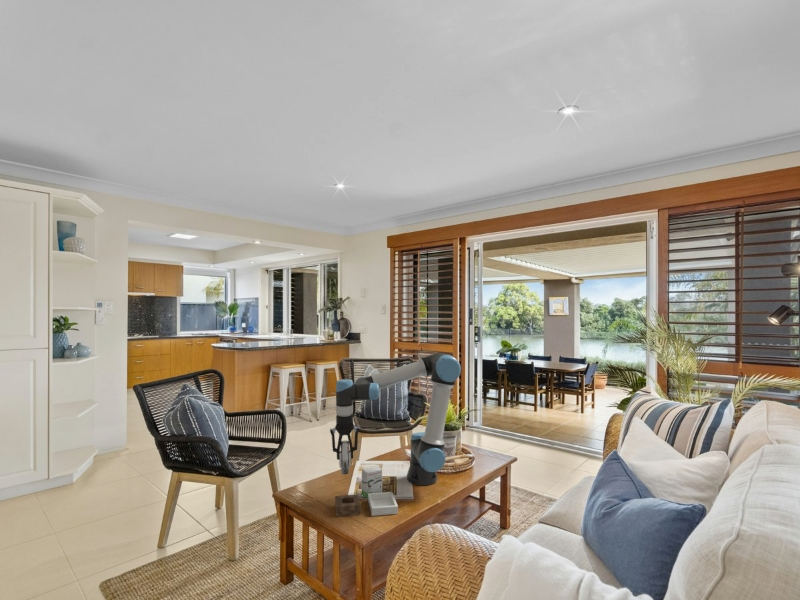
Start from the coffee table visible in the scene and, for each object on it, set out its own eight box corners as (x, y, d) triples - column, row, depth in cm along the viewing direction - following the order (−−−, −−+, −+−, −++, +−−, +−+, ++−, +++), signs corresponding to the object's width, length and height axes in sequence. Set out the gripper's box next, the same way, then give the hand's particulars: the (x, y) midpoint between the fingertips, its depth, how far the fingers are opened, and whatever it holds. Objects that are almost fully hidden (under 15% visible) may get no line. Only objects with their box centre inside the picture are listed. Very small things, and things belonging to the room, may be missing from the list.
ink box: (366, 499, 190) (366, 472, 191) (361, 494, 195) (361, 469, 195) (382, 494, 195) (382, 468, 195) (377, 490, 199) (377, 465, 199)
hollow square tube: (358, 503, 186) (358, 494, 186) (360, 514, 176) (360, 504, 176) (335, 505, 184) (335, 496, 184) (336, 516, 174) (336, 506, 174)
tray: (392, 498, 191) (392, 491, 191) (397, 513, 177) (398, 506, 177) (367, 500, 189) (367, 493, 189) (371, 515, 175) (371, 508, 175)
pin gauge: (348, 470, 193) (348, 440, 193) (349, 474, 190) (349, 442, 190) (340, 471, 193) (340, 440, 193) (341, 474, 189) (341, 443, 189)
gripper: (362, 411, 197) (362, 461, 196) (325, 413, 193) (326, 464, 193) (363, 415, 189) (364, 467, 189) (326, 417, 186) (326, 471, 186)
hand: (345, 466), depth 191 cm, fingers closed on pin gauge, 4 cm apart
